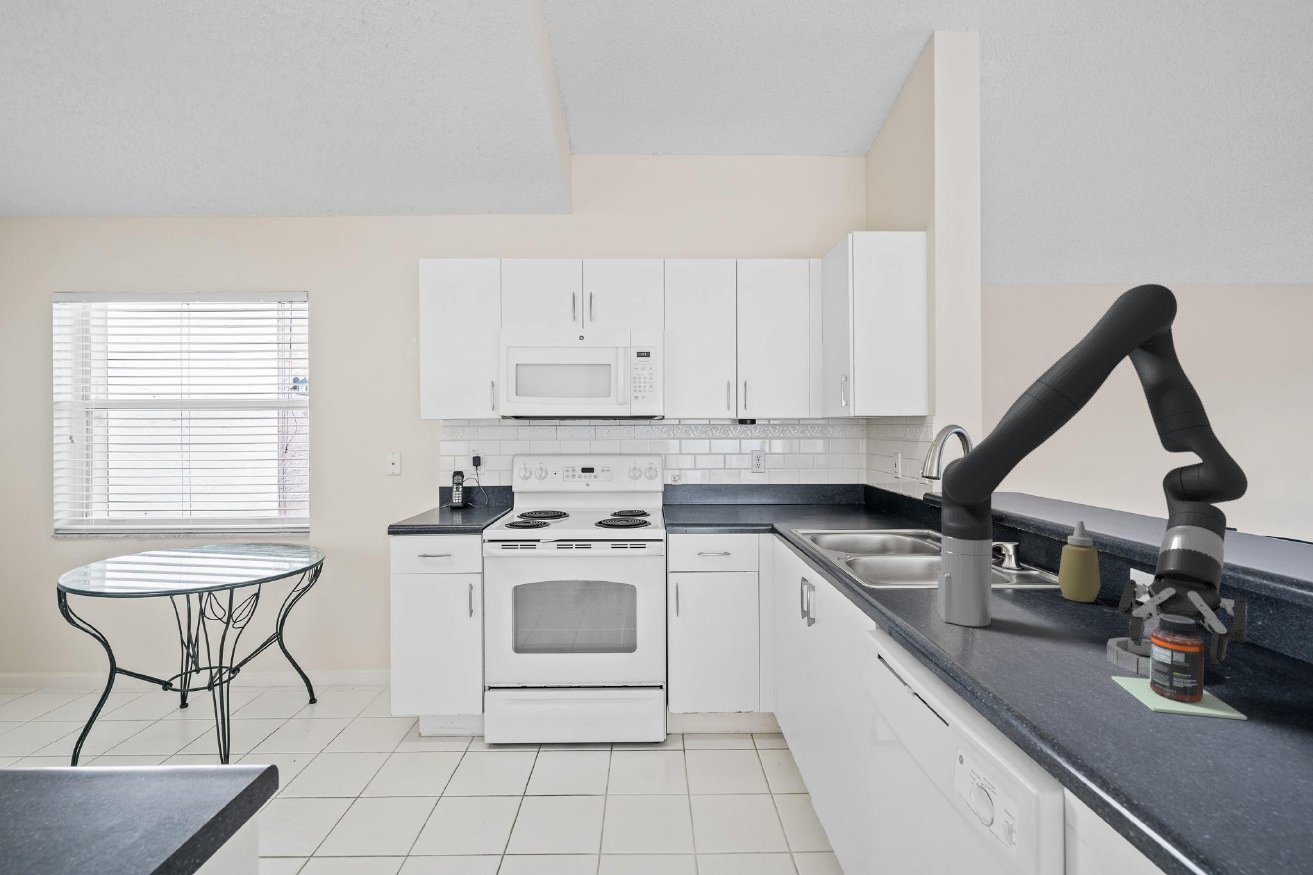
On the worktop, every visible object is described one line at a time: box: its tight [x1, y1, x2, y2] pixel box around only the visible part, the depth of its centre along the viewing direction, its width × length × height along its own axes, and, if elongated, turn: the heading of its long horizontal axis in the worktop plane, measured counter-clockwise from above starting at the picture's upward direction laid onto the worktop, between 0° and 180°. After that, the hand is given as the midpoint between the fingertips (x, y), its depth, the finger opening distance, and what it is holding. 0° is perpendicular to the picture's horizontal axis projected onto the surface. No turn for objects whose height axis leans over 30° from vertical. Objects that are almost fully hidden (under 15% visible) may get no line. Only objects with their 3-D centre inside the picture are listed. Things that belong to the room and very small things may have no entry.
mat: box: [1111, 675, 1248, 721], centre depth 88 cm, size 11×11×1 cm
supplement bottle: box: [1149, 615, 1205, 702], centre depth 88 cm, size 6×6×11 cm
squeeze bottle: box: [1057, 520, 1101, 603], centre depth 137 cm, size 8×8×18 cm
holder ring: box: [1106, 636, 1151, 677], centre depth 99 cm, size 12×12×2 cm
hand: (1173, 651), depth 87 cm, fingers open, 8 cm apart
